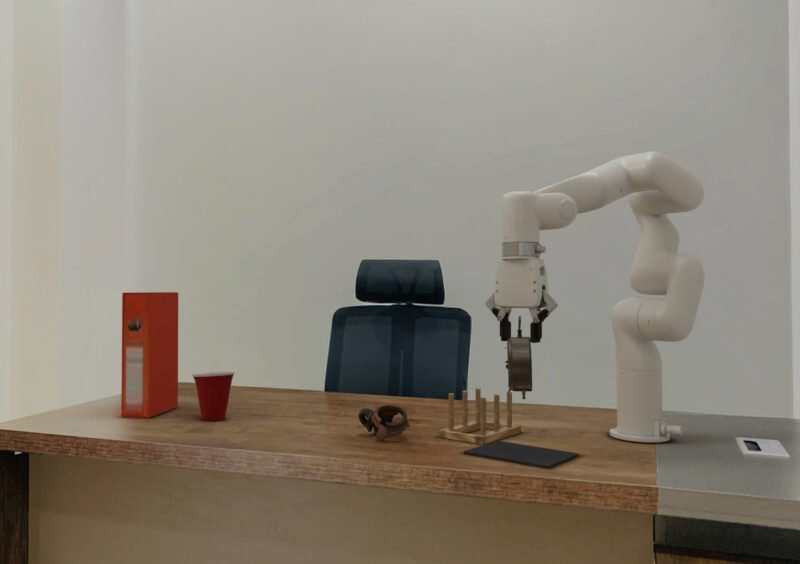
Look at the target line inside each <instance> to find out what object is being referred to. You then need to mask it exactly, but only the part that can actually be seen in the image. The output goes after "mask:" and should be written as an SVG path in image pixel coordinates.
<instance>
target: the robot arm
mask: <svg viewBox="0 0 800 564" xmlns="http://www.w3.org/2000/svg"><path fill="white" fill-rule="evenodd" d="M626 196H628V197H627V198H628V204H629V207H630V209H631V211H632V213H633V215H634V217H635V219H636V222H637V224H638V227H639V232H640V235H639V236H640V237H639V241H638V245H637V248H636V252H635V256H634V259H633V263H632V266H631V270H630V274H629V283H630V284H629V285H630V287H631V289H632V290H633V291H634V292H636V293H637V294H640V295H645V296H664V297H644V296H643V297H628V298H624V299H622V300H620V301H618V302H617V303H616V304H614V307H613V308H612V310H611V315H610V319H611V321H610V322H611V328H612V331H613V336H614V341H615V350H616V351H615V355H616V356H615V357H616V427H613V428H611V429H609V436H611V437H612V438H615V439H616V440H617V439H618V440H622V441H627V442H634V443H648V444H649V443H650V444H651V443H652V444H653V443H654V444H655V443H667V442H669V441H670V440H671V435H673V436H674V435H675V436H683V432H684V429H683V426H681V425H679V424H678V425H677V424H669V422H667V418H666V417H663V360H662V359H663V358H662V355H661V352H660V351H659V348H658V346H657V344H656V343H655V342H666V343H667V342H668V343H677V342H682V341H684V340H685V339H687V338H688V337H689V335H690V334H691V332H692V330H693V327H694V325H695V321H696V318H697V313H698V310H699V306H700V302H701V299H702V294H703V291H704V287H705V286H704V285H705V268H704V266H703V263H702V261H701V260H700V259H699V258H698V257H697V256H696V255H694V254H691V253H688V252H679V247H680V241H681V237H680V233H679V231H678V229H677V227H676V226H675V224H674V223H673V222H672V219H670V217H669V216H668V214H677V213H678V214H679V213H688V212H692V211H694V210H696V209H698V208H699V207H700V206H701V204H703V201H704V198H705V188H704V185H703V183H702V181H701V180H700V178H699V177H698V176H697V175H696V174H695V173H694V172H692V171H691V170H689V168H687V167H685V166H684V165H682V164H680V162H678V161H676V160H675V159H673V158H672V157H670V156H669V155H667V154H664V153H662V152H660V151H654V150H653V151H652V150H651V151H644V152H641V153H640V152H639V153H634V154H630V155H629V154H628V155H624V156H619V157H616V158H614V159H613V160H610V161H608V162H606V163H604V164H600V165H599V166H597V167H594V168H592V169H590V170H587V171H585V172H582V173H581V174H580V173H579V174H578V175H575V176H572V177H569V178H567V179H564V180H562V181H559V182H556V183H554V184H551V185H548V186H545V187H542V188H539V189H537V190H535V191H528V190H516V191H509V192H506V193H504V194H503V195H502V196H501V197H502V198H501V207H500V208H501V209H500V210H501V211H500V212H501V213H500V214H501V215H500V216H501V219H500V220H501V222H500V223H501V225H500V226H501V227H500V228H501V235H500V236H501V238H500V239H501V259H498V261H497V267H496V272H495V280H494V292H493V294H492V295H490V297H489V298H488V299H487V300H486V302H485V306H486V307H487V308H488V309H489V311H491V313H492V314H493V315H494V316H495V318H496V320H497V321H498V322H499V336H500V341H501V342H508V340H509V338H511V337H512V322H511V321H510V316H511V313H512V310H513V309H528V310H529V313H530V317H531V319H532V322H530V325H529V327H530V328H529V329H530V331H529V333H530V335H529V337H530V342H531V344H539V343H541V340H542V338H543V323H544V322H545V320H546V319H547V318H548V317H549V316H550V315H551V313H553V312H554V311H555V310H556V309H557V308H558V303H557V301H556V300H555V299H554V298H553V297H552V296H551V295H550V293H549V282H548V281H549V280H548V274H547V268H546V263H545V259H543V258H540V257H541V254H544V253H546V252H547V247H546V246H545V245H541V243H540V231H550V230H560V229H564V228H566V227H568V226H570V225H571V224H572V223H573V222H574V221H575V220H576V218H577V215H580V214H585V213H589V212H593V211H596V210H597V211H598V210H600V209H603V208H605V207H606V206H608V205H611V204H613V202H616V201H618V200H620V199H622V198H624V197H626ZM654 341H655V342H654Z"/></svg>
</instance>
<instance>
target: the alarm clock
mask: <svg viewBox="0 0 800 564" xmlns="http://www.w3.org/2000/svg"><path fill="white" fill-rule="evenodd" d="M517 322H518V324H517V325H518V326H517V328H518V329H517V330H516V332H517V336H511V338H509V340H508V341H506V347H504V349H505V350H506V349H507V350H506V353H507V355H506V356H507V360H505V369H506V370H507V378H508V379H507V380H508V384H507V386H508V390H507V392H508V393H509V392H521V395H522V398H521V399H522V400H526V392H532V391H533V360H532V358H533V357H532V343H531V342H530V336H523V335H522V334H523V330H522V328H521V327H522V316H521V315H519V316H518V321H517ZM507 392H506V395H507V394H508V393H507Z"/></svg>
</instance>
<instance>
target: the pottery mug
mask: <svg viewBox="0 0 800 564" xmlns="http://www.w3.org/2000/svg"><path fill="white" fill-rule="evenodd" d="M399 414H400V416H401V417H402V419H401V420H400V421H397V422H393V420H394V417H395V416H398V415H399ZM357 417H358V420H359V422H360V423H361V425H362V426H363V427H365V428H366V430H367V432H368V433H371V432H372V431H373V434H374V435H375V434H376V439H377V440H379V441H381V442H383V441H384V440H385V439H386V438H389V437H392V436H397V435H401V434H403V432H405V431H406V430H407V428H410V423H409V420H408V413H407V412H406V411H405V409H404V408H403V407H401V406H399V405H396V404H392V403H384V404H383V403H382V404H380V405H378V406H376V408H374V410H372V409H371V408H366V407H365V408H362V409H360V410H359V412H358V415H357Z"/></svg>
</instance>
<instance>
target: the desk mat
mask: <svg viewBox="0 0 800 564" xmlns="http://www.w3.org/2000/svg"><path fill="white" fill-rule="evenodd" d="M463 454H464V455H470V456H475V457H481V458H486V459H492V460H498V461H503V462H509V463H514V464H519V465H520V464H521V465H525V466H531V467H537V468H542V469H547V470H548V469H551V468H554V467H556V466H558V465H561V464H563V463H565V462H567V461H568V462H569V461H570V460H572V459H575V458H577V457H580V454H579V452H571V451H567V450H565V451H564V450H560V449H553V448H546V447H541V446H535V445H527V444H523V443H522V444H521V443H515V442H510V441H502V440H496V441H493V442H490V443H486V444H481V445H480V446H476V447H473V448H470V449H467V450H464V451H463Z"/></svg>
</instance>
